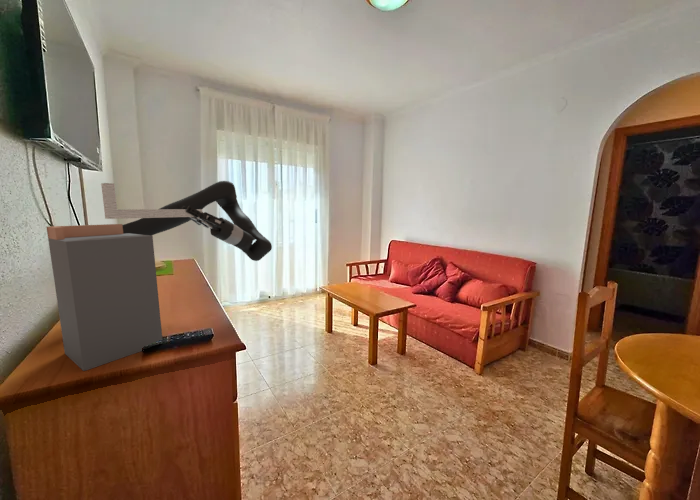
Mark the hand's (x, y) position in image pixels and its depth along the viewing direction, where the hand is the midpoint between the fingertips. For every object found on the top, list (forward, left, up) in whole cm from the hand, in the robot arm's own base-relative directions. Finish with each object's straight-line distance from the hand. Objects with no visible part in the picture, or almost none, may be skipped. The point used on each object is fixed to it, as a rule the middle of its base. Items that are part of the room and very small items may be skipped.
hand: (185, 208), depth 98 cm
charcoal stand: (0, -23, -40) cm, 46 cm away
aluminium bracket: (0, -8, -3) cm, 8 cm away
